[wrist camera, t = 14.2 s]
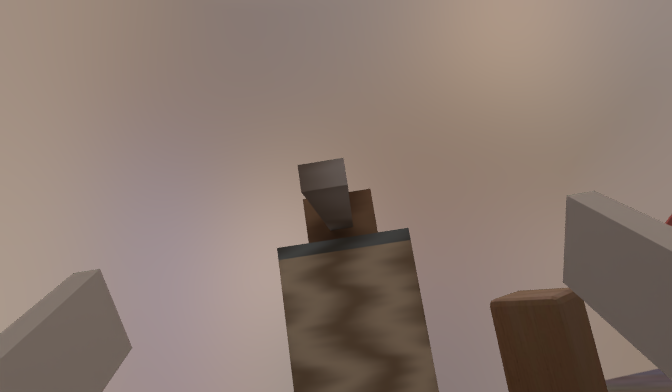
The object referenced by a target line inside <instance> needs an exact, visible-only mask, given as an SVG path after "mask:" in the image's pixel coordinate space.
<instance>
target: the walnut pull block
mask: <svg viewBox="0 0 672 392" xmlns="http://www.w3.org/2000/svg"><path fill="white" fill-rule="evenodd" d="M298 171H299V178H300V186H301V192H302V194H303V195H304V196H305V197H306V199H303V203H304V210H305V218H306V226H307V233H308V240H309V243H314V242H320V241H327V240H333V239H340V238H346V237H352V236H359V235H365V234H372V233H378V231H377V226H376V220H375V214H374V208H373V202H372V197H371V190H370V189H366V190H360V191H353V192H348V184H347V178H346V172H345V166H344V160H343V158H340V159H334V160H327V161H321V162H315V163H309V164H302V165H298Z"/></svg>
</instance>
